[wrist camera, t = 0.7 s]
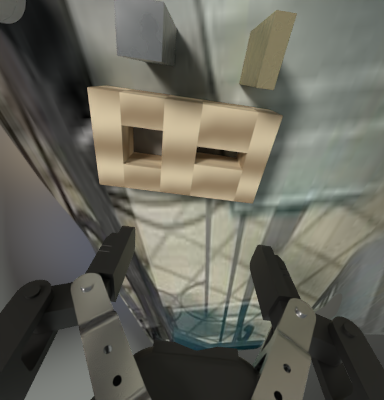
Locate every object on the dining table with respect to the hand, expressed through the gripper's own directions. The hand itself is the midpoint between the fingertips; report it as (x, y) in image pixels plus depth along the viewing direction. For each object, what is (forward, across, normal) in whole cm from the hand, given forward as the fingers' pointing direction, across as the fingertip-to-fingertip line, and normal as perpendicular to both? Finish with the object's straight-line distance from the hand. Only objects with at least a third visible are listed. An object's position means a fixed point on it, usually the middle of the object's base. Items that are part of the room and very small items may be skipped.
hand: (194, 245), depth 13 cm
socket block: (+20, +2, -1) cm, 20 cm away
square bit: (+20, +6, -12) cm, 24 cm away
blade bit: (+20, -5, -12) cm, 24 cm away
